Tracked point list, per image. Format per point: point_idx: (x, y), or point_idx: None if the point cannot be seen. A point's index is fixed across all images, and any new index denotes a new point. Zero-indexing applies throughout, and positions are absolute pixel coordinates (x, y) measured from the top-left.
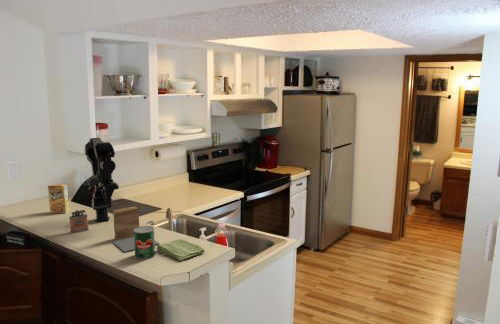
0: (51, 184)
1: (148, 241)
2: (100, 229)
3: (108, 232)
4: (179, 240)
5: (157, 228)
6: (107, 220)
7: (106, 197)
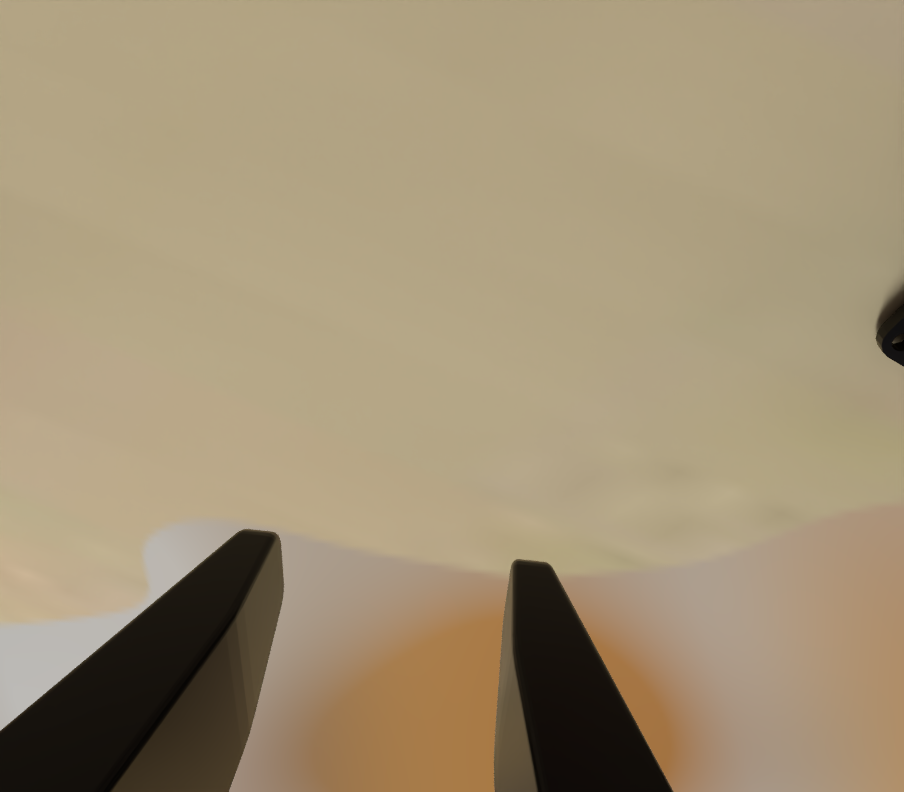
0: None
1: None
2: (493, 8)
3: (199, 61)
4: None
5: (31, 616)
6: (882, 335)
7: (47, 694)
